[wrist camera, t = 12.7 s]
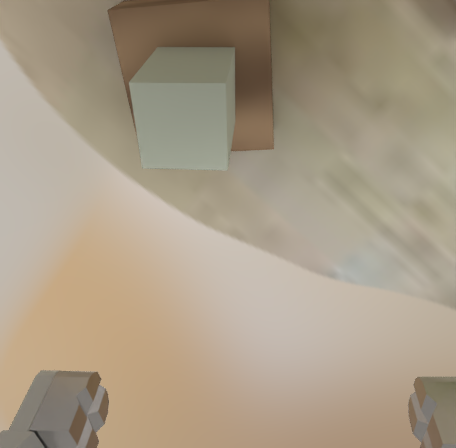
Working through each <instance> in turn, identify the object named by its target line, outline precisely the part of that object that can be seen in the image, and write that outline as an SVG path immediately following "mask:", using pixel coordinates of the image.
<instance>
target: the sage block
mask: <svg viewBox="0 0 456 448" xmlns="http://www.w3.org/2000/svg"><path fill="white" fill-rule="evenodd" d="M129 87H130V93H131V100H132V106H133V113H134V119H135V125H136V132H137V138H138V145H139V151H140V157H141V164H142V168H148V169H189V170H228V165H229V159H230V152H231V146H232V140H233V133H234V127H235V47H157V48H156V50H155V51H154V52H153V53H152V55H151V56H150V57H149V58H148V59H147V61H146V62H145V63H144V64H143V66H142V67H141V68H140V69H139V71H138V72H137V73H136V74H135V75H134V77H133V78H132V79H131V80H130V82H129Z"/></svg>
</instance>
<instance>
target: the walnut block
mask: <svg viewBox="0 0 456 448" xmlns="http://www.w3.org/2000/svg"><path fill="white" fill-rule="evenodd" d="M108 14H109V19H110V23H111V27H112V31H113V36H114V40H115V44H116V49H117V53H118V57H119V62H120V66H121V70H122V74H123V79H124V83H125V87H126V92H127V96H128V100H129V105H130V109H131V113H132V117H133V122H134V126H135V130H136V125H135V119H134V113H133V106H132V100H131V93H130V87H129V82H130V80H131V79H132V78H133V77H134V75H135V74H136V73H137V72H138V71H139V69H140V68H141V67H142V66H143V64H144V63H145V62H146V61H147V59H148V58H149V57H150V56H151V55H152V53H153V52H154V51H155V50H156V48H157V47H235V127H234V133H233V140H232V146H231V151H246V150H267V149H274V138H273V102H272V69H271V36H270V3H269V0H130V1H123V2H121V3H119V4H118V5H116V6H114V7H112V8H111V9H109V10H108ZM136 135H137V132H136ZM137 139H138V138H137Z"/></svg>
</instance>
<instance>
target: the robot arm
mask: <svg viewBox="0 0 456 448" xmlns="http://www.w3.org/2000/svg"><path fill="white" fill-rule="evenodd" d="M100 381H101V378H100V376H99V374H98V372H85V371H46V370H45V371H44V370H43V371H40V373H38V374H37V375H36V377H35V378H34V380H33V382H32V385H31V386H30V388H29V390H28V392H27V395H26V396H25V398H24V400H23V402H22V404H21V406H20V408H19V410H18V412H17V414H16V416H15V418H14V420H13V422H12V424H11V426H10V428H9V430H3V431H2V432H1V433H0V448H97V446H98V442H99V440H98V437H97V434H96V432H97V431H98V430H99V429H100V428H101V427H102V426H103V425H104V424H105V420H106V417H107V414H108V405H109V400H108V393H107V391H106V389H105V388H104V387H102V386H100V385H99V384H100ZM414 388H415V393H413V394H411V395H410V399H409V404H408V407H409V419H410V424H411V428H412V432H413V434H414V435H415V436H416V437H417V438H418V440H419V441H420V442H421V446H420V448H456V377H417V378H416V379H415V382H414Z"/></svg>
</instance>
